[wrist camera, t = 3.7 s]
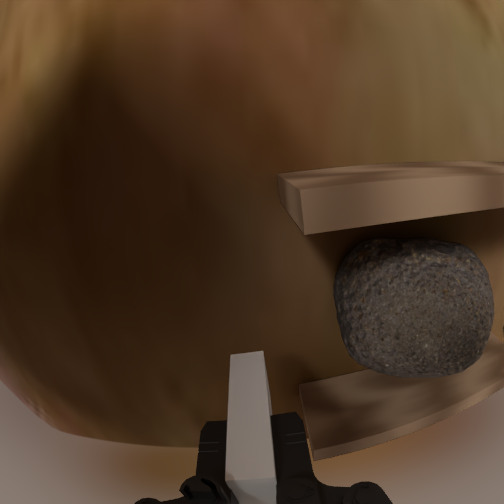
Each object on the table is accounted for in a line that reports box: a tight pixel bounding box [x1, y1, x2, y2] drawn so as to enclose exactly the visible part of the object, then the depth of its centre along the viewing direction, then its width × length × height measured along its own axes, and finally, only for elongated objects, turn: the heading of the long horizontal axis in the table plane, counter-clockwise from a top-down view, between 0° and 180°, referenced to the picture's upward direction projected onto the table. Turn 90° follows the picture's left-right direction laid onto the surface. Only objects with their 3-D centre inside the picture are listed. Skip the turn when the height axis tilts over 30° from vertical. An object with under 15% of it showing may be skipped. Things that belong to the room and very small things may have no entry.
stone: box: [334, 238, 494, 378], centre depth 16 cm, size 10×8×10 cm
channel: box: [277, 161, 504, 461], centre depth 15 cm, size 18×16×6 cm
